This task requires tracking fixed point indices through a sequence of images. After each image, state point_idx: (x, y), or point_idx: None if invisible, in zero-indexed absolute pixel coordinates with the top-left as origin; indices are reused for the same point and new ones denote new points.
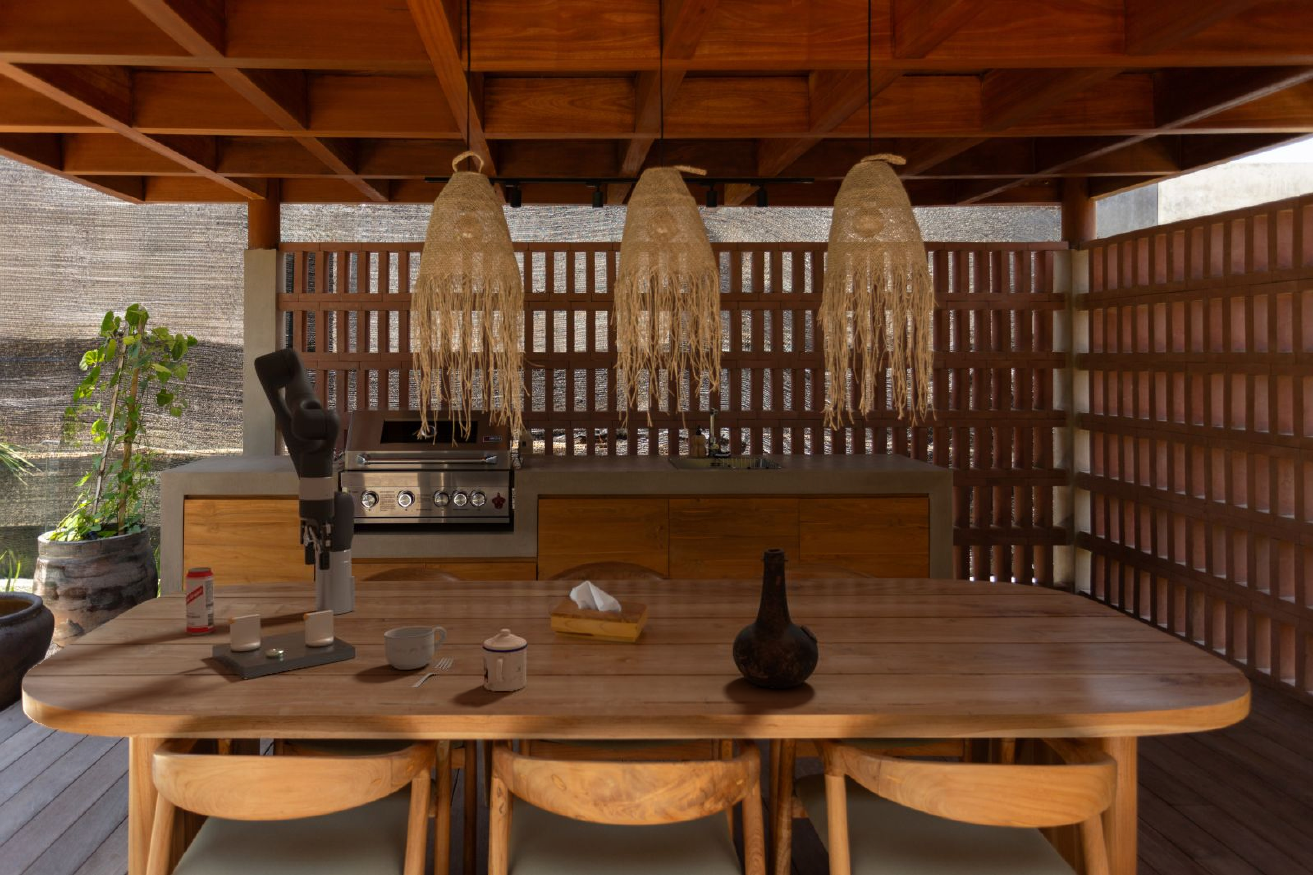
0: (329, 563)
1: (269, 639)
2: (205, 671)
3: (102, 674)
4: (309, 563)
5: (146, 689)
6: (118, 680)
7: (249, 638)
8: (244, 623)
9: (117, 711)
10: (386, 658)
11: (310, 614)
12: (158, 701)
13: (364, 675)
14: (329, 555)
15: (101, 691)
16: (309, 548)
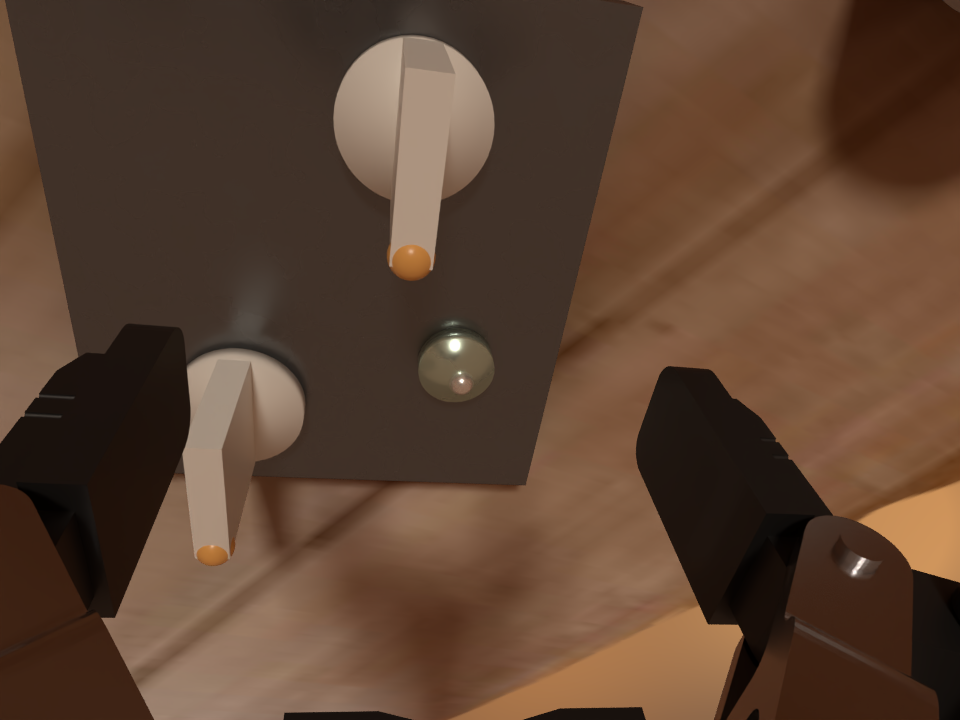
0: (734, 407)
1: (136, 267)
2: (318, 502)
3: (140, 672)
4: (184, 401)
5: (387, 631)
6: (239, 657)
7: (248, 418)
8: (232, 490)
9: (514, 687)
10: (954, 9)
11: (427, 246)
12: (516, 631)
13: (876, 137)
14: (795, 489)
15: (320, 689)
16: (81, 573)
